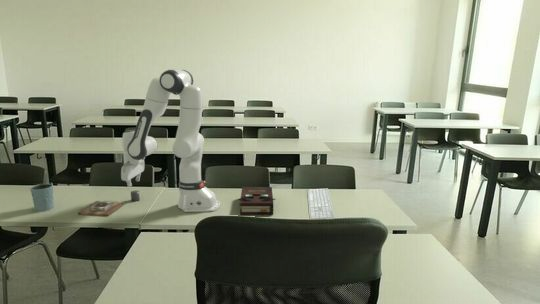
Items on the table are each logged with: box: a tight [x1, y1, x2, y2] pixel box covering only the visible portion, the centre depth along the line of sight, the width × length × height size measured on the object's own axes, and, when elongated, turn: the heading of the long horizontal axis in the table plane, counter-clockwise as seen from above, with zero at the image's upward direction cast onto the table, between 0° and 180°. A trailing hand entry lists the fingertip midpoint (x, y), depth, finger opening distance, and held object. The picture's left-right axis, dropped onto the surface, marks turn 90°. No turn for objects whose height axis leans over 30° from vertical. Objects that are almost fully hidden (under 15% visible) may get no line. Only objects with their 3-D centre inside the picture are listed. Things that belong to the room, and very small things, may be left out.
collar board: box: [77, 200, 125, 217], centre depth 196 cm, size 16×16×2 cm
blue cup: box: [29, 183, 55, 212], centre depth 196 cm, size 10×10×12 cm
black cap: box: [130, 190, 141, 203], centre depth 209 cm, size 4×4×5 cm
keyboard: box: [307, 188, 336, 220], centre depth 208 cm, size 44×12×2 cm, turn 176°
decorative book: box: [237, 186, 276, 216], centre depth 203 cm, size 19×8×30 cm
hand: (133, 183), depth 208 cm, fingers open, 8 cm apart
